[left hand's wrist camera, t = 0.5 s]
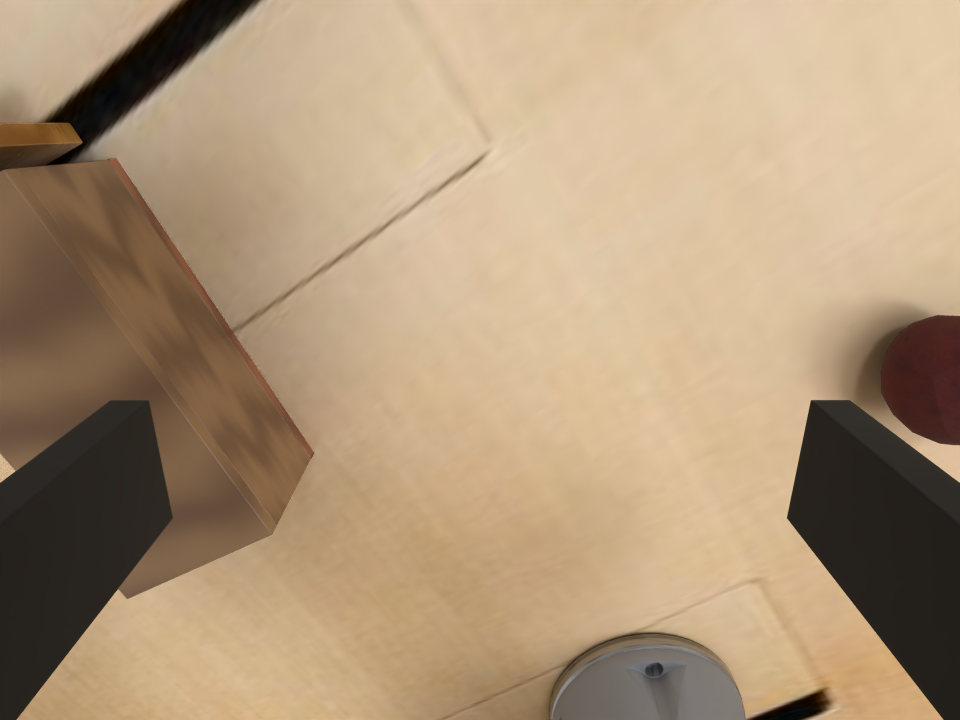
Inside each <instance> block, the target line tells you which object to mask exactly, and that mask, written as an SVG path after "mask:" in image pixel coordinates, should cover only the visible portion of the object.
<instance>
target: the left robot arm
mask: <svg viewBox="0 0 960 720" xmlns="http://www.w3.org/2000/svg"><path fill="white" fill-rule="evenodd" d="M172 519H173V516H172V511H171V506H170V501H169V496H168V491H167V486H166V481H165V476H164V471H163V467H162V462H161V457H160V452H159V447H158V442H157V437H156V432H155V427H154V422H153V417H152V413H151V408H150V403H149V400H110V401H109V402H107V403H106V404H105V405H103V406H102V407H101V408H99V409H98V410H97V411H95V412H94V413H93V414H91V415H90V416H89V417H87V418H86V419H85V420H83V421H82V422H81V423H79V424H78V425H77V426H75V427H74V428H73V429H71V430H70V431H69V432H68V433H66V434H65V435H64V436H62V437H61V438H60V439H58V440H57V441H56V442H54V443H53V444H52V445H50V446H49V447H48V448H46V449H45V450H44V451H42V452H41V453H40V454H38V455H37V456H36V457H34V458H33V459H32V460H30V461H29V462H28V463H26V464H25V465H24V466H22V467H21V468H20V469H18V470H17V471H16V472H14V473H13V474H12V475H10V476H9V477H8V478H6V479H5V480H4V481H2V482H1V483H0V720H17V718H18V717H19V716H20V714H21V713H22V712H23V711H24V709H25V708H26V707H27V705H28V704H29V703H30V701H31V700H32V699H33V698H34V696H35V695H36V694H37V692H38V691H39V690H40V689H41V687H42V686H43V685H44V683H45V682H46V681H47V680H48V678H49V677H50V676H51V674H52V673H53V672H54V671H55V669H56V668H57V667H58V665H59V664H60V663H61V662H62V660H63V659H64V658H65V656H66V655H67V654H68V653H69V651H70V650H71V649H72V647H73V646H74V645H75V644H76V642H77V641H78V640H79V638H80V637H81V636H82V635H83V633H84V632H85V631H86V629H87V628H88V627H89V626H90V624H91V623H92V622H93V620H94V619H95V618H96V617H97V615H98V614H99V613H100V611H101V610H102V609H103V608H104V606H105V605H106V604H107V602H108V601H109V600H110V599H111V597H112V596H113V595H114V593H115V592H116V591H117V590H118V588H119V587H120V586H121V584H122V583H123V582H124V580H125V579H126V578H127V577H128V575H129V574H130V573H131V571H132V570H133V569H134V568H135V566H136V565H137V564H138V562H139V561H140V560H141V559H142V557H143V556H144V555H145V553H146V552H147V551H148V550H149V548H150V547H151V546H152V544H153V543H154V542H155V541H156V539H157V538H158V537H159V535H160V534H161V533H162V532H163V530H164V529H165V528H166V526H167V525H168V524H169V523H170V521H171V520H172ZM787 519H788V520H789V521H790V523H791V524H792V525H793V526H794V528H795V529H796V530H797V532H798V533H799V534H800V535H801V537H802V538H803V539H804V541H805V542H806V543H807V544H808V546H809V547H810V548H811V550H812V551H813V552H814V553H815V555H816V556H817V557H818V559H819V560H820V561H821V562H822V564H823V565H824V566H825V568H826V569H827V570H828V571H829V573H830V574H831V575H832V577H833V578H834V579H835V580H836V582H837V583H838V584H839V586H840V587H841V588H842V590H843V591H844V592H845V593H846V595H847V596H848V597H849V599H850V600H851V601H852V602H853V604H854V605H855V606H856V608H857V609H858V610H859V611H860V613H861V614H862V615H863V617H864V618H865V619H866V620H867V622H868V623H869V624H870V626H871V627H872V628H873V629H874V631H875V632H876V633H877V635H878V636H879V637H880V638H881V640H882V641H883V642H884V644H885V645H886V646H887V647H888V649H889V650H890V651H891V653H892V654H893V655H894V656H895V658H896V659H897V660H898V662H899V663H900V664H901V665H902V667H903V668H904V669H905V671H906V672H907V673H908V674H909V676H910V677H911V678H912V680H913V681H914V682H915V683H916V685H917V686H918V687H919V689H920V690H921V691H922V692H923V694H924V695H925V696H926V698H927V699H928V700H929V701H930V703H931V704H932V705H933V707H934V708H935V709H936V711H937V712H938V713H939V714H940V716H941V717H942V718H943V720H960V483H959V482H958V481H956V480H955V479H954V478H952V477H951V476H950V475H948V474H947V473H946V472H944V471H943V470H942V469H940V468H939V467H938V466H936V465H935V464H934V463H932V462H931V461H930V460H928V459H927V458H926V457H924V456H923V455H922V454H920V453H919V452H918V451H916V450H915V449H914V448H912V447H911V446H910V445H908V444H907V443H906V442H904V441H903V440H902V439H900V438H899V437H898V436H896V435H895V434H894V433H892V432H891V431H890V430H889V429H887V428H886V427H885V426H883V425H882V424H881V423H879V422H878V421H877V420H875V419H874V418H873V417H871V416H870V415H869V414H867V413H866V412H865V411H863V410H862V409H861V408H859V407H858V406H857V405H855V404H854V403H853V402H851V401H850V400H811V403H810V408H809V413H808V417H807V422H806V427H805V432H804V437H803V442H802V447H801V452H800V457H799V462H798V467H797V471H796V476H795V481H794V486H793V491H792V496H791V501H790V506H789V511H788V516H787Z"/></svg>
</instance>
